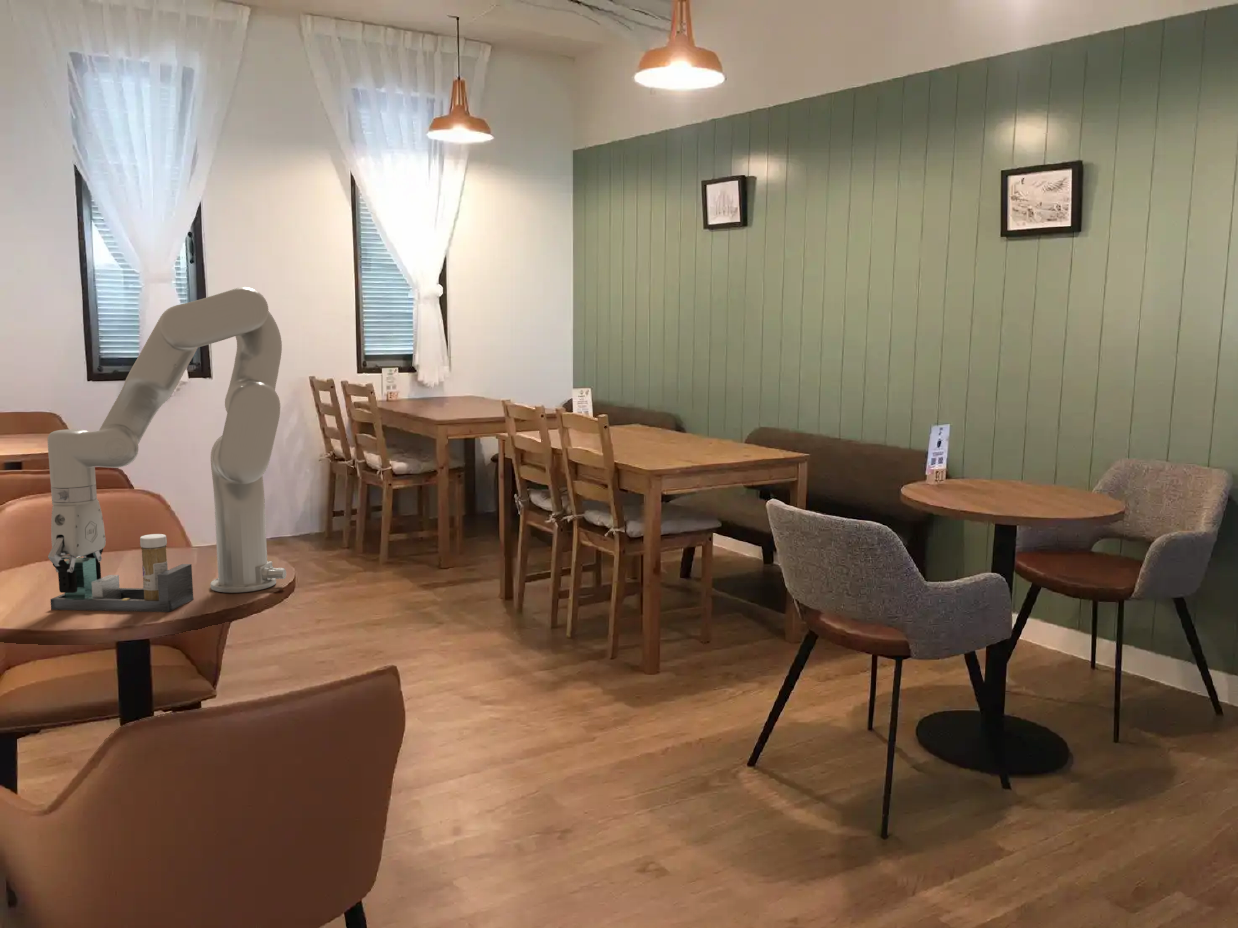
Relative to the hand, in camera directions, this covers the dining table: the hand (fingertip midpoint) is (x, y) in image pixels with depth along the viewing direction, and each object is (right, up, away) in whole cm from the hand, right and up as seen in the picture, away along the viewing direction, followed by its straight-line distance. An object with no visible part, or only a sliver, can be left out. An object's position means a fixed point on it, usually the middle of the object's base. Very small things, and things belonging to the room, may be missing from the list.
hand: (80, 586), depth 192 cm
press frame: (+8, -3, 0) cm, 9 cm away
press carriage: (+2, -3, 0) cm, 4 cm away
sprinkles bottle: (+15, -4, -1) cm, 15 cm away
